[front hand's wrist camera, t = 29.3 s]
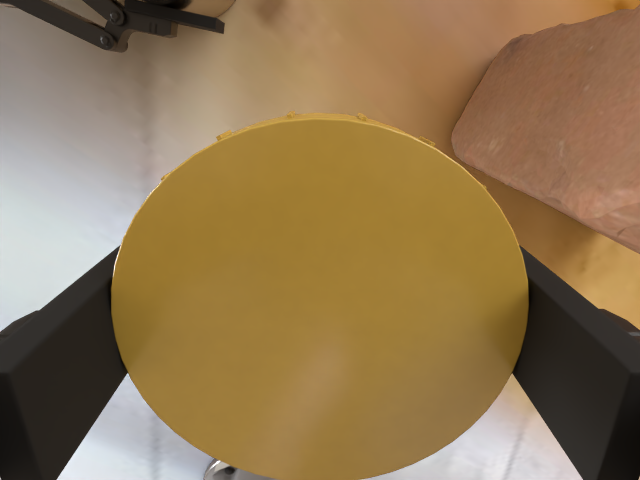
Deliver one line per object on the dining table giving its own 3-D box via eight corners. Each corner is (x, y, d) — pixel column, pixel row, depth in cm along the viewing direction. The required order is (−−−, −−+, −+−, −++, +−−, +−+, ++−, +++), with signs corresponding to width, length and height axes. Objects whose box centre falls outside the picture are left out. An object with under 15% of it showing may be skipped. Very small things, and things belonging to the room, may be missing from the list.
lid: (522, 398, 13) (550, 440, 11) (216, 466, 14) (204, 514, 12) (470, 55, 9) (500, 50, 8) (70, 178, 10) (27, 195, 9)
